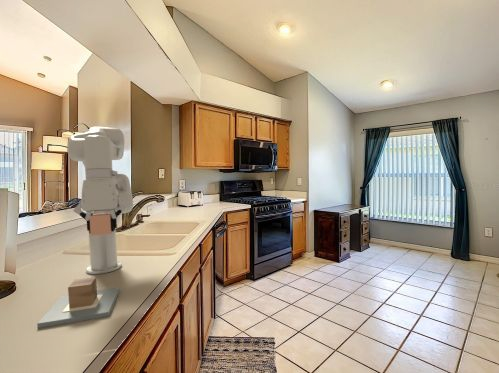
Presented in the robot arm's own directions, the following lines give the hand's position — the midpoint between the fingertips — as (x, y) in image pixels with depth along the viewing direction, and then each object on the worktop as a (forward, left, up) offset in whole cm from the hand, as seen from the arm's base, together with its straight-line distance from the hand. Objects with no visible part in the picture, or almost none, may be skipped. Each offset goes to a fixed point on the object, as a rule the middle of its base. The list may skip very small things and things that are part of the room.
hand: (102, 231), depth 83 cm
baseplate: (+9, -4, -20) cm, 22 cm away
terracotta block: (0, 0, -1) cm, 1 cm away
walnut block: (+9, -4, -19) cm, 21 cm away
